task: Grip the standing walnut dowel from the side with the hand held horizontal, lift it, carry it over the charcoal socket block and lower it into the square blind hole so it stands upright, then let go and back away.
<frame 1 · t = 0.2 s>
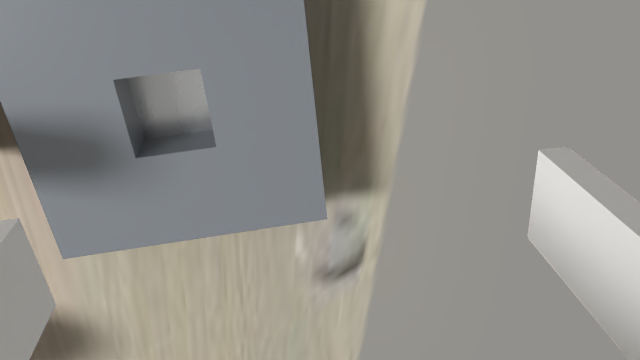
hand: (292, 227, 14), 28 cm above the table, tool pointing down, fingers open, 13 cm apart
socket block: (175, 92, 39), on the table
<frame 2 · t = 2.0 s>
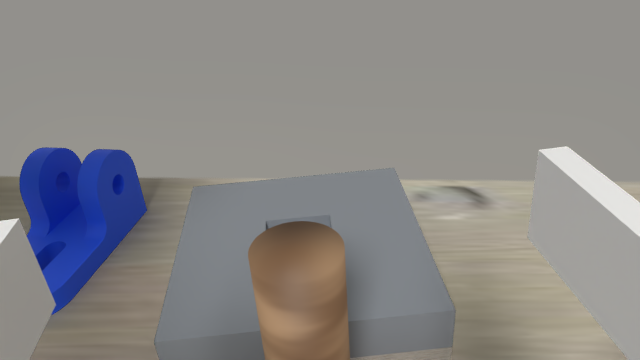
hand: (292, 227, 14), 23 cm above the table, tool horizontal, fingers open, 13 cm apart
socket block: (303, 282, 46), on the table
bracket: (66, 262, 51), on the table
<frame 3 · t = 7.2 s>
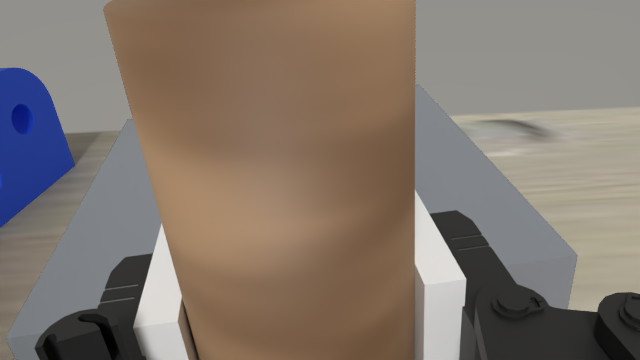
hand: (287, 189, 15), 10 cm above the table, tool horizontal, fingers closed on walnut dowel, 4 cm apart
socket block: (295, 245, 29), on the table
when the fingers open (12 cm above the table, at t = 12.3 s): walnut dowel drops 1 cm, resting on socket block.
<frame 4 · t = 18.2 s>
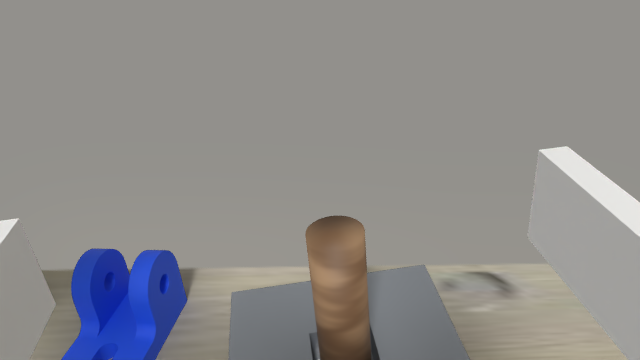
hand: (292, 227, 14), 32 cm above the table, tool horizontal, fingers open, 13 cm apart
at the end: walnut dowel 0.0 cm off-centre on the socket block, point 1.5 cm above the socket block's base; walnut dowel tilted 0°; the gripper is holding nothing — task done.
